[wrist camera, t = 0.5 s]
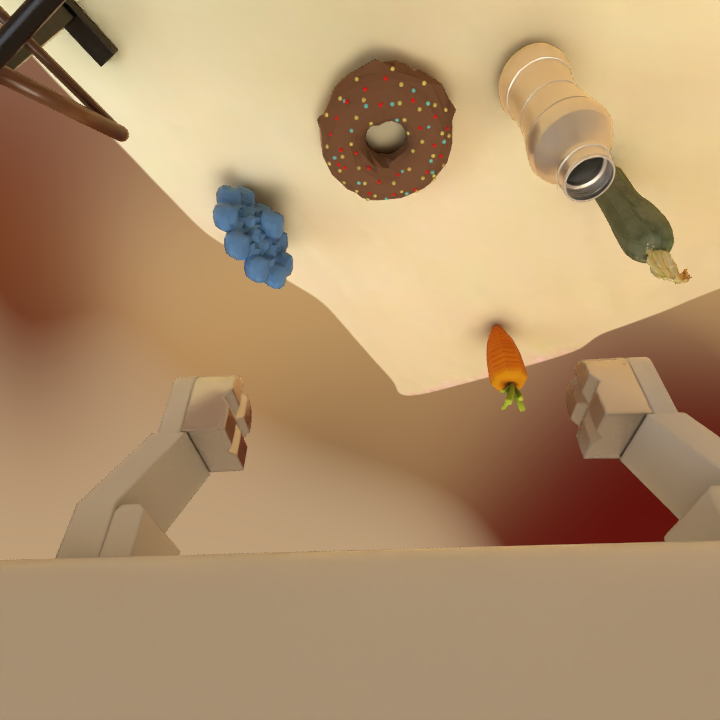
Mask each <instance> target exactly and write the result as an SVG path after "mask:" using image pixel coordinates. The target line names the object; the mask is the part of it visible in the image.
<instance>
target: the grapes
mask: <svg viewBox="0 0 720 720" xmlns="http://www.w3.org/2000/svg"><path fill="white" fill-rule="evenodd" d="M216 195H217V205H215V207H214V210H213V219H214V223H215V226H216V227H218V228H219V229H221V230H223V231H225V232H228V233H226V236H225V238H224V246H225V250H226V253H227V254H228V255H229V256H231V257H232V258H234V259H236V260H245V262H244V270H245V274H246V276H247V277H248V278H249V279H251V280H252V281H254V282H257V283H263V282H264V283H266V284H267V285H268V286H270V287H272V288H274V289H280V288H282V287H283V286H284V284H285V282H286V277H287V276H289V275H290V274H291V272H292V270H293V258H292V256H291V255H290V254H288V253H286V249H287V247H288V237H287V233H285V232H284V218H283V216H282V215H281V214H279V213H277V212H275V211H273V209H272V208H270V207H269V206H267V205H265V204H262V203H256V204H255V194H254V192H253V191H252V190H250V189H248V188H246V187H242V186H237V187H236V188H233V187H231V186H226V185H223V186H221V187H219V188H218V191H217V193H216Z"/></svg>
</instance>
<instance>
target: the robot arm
mask: <svg viewBox="0 0 720 720" xmlns="http://www.w3.org/2000/svg"><path fill="white" fill-rule="evenodd" d="M575 374H576V378H575V379H574V380H572V381H571V382H570V383H569V386H568V389H567V398H566V403H567V409H568V413H569V416H570V419H571V420H572V421H573V422H574V423H576V424H577V425H578V426H579V429H578V431H577V433H576V437H577V440H578V443H579V446H580V449H581V452H582V454H583V457H584V458H620V461H621V462H622V463H623V464H624V465H626V466H627V468H628V469H630V470H631V472H632V473H633V474H634V475H635V476H636V477H637V478H639V480H640V481H641V482H642V483H643V484H644V485H645V486H646V487H647V488H648V489H650V491H651V492H652V493H653V494H655V496H656V497H657V498H658V499H659V500H660V501H661V502H662V503H663V504H664V505H666V507H668V508H669V509H670V511H671V512H672V513H673V514H674V515H675V516H676V517H677V518H678V519H679V521H678V522H677V523H676V524H675V525H674V526H673V527H672V529H671V530H670V531H669V532H668V533H667V534H666V536H665V537H664V539H665V542H645V543H611V544H610V543H609V544H573V545H572V544H571V545H533V546H496V547H463V548H461V547H459V548H425V549H423V548H422V549H387V550H350V551H349V550H348V551H313V552H279V553H278V552H276V553H241V554H240V553H239V554H207V555H206V554H203V555H179V554H180V551H179V549H178V548H177V547H176V545H175V544H174V543H173V542H172V541H171V539H170V538H169V537H168V536H167V535H166V534H165V532H166V531H167V530H168V528H169V527H170V526H171V524H172V523H173V522H174V521H175V519H176V518H177V517H178V515H179V514H180V513H181V511H182V510H183V509H184V508H185V506H186V505H187V504H188V502H189V501H190V500H191V499H192V497H193V496H194V495H195V493H196V492H197V491H198V489H199V488H200V487H201V486H202V484H203V483H204V482H205V480H206V479H207V477H208V476H209V475H210V473H209V472H223V471H240V470H243V469H244V464H245V458H246V452H247V445H246V443H245V440H244V437H245V436H246V435H247V434H248V433H249V432H250V428H251V405H250V401H249V398H248V396H247V395H246V394H244V393H243V392H242V390H243V382H242V380H241V378H240V376H198V377H178V378H177V379H176V381H175V382H174V383H173V386H172V389H171V393H170V396H169V399H168V402H167V405H166V408H165V412H164V415H163V418H162V421H161V424H160V427H159V431H158V433H152V434H151V435H150V436H149V437H148V438H146V439H145V440H144V441H143V442H142V443H141V444H140V445H139V446H138V447H137V448H136V449H135V450H134V451H133V452H132V453H131V454H129V455H128V456H127V457H126V458H125V459H124V460H123V461H122V462H121V463H120V464H119V465H118V466H117V467H116V468H115V469H114V470H113V471H111V472H110V473H109V474H108V475H107V476H106V477H105V478H104V479H103V480H102V481H101V482H100V483H99V484H98V485H97V486H96V487H95V488H93V489H92V490H91V491H90V492H89V493H88V494H87V495H86V496H85V497H84V498H83V499H82V500H81V501H80V502H79V503H77V505H76V507H75V510H74V512H73V515H72V517H71V520H70V522H69V525H68V527H67V530H66V533H65V535H64V538H63V540H62V543H61V545H60V548H59V550H58V553H57V555H56V558H55V559H23V560H22V559H21V560H0V720H720V437H718V436H717V435H716V434H714V433H713V432H711V431H710V430H709V429H707V428H706V427H704V426H703V425H701V424H700V423H699V422H697V421H696V420H694V419H693V418H692V417H690V416H689V415H687V414H686V413H678V412H677V410H676V408H675V406H674V404H673V402H672V400H671V398H670V396H669V394H668V392H667V390H666V388H665V387H664V385H663V383H662V381H661V379H660V377H659V375H658V373H657V371H656V369H655V367H654V365H653V364H652V361H651V360H650V359H649V358H647V357H636V358H608V359H592V360H580V361H579V362H578V363H577V365H576V367H575Z"/></svg>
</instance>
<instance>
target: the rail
mask: <svg viewBox="0 0 720 720" xmlns="http://www.w3.org/2000/svg"><path fill="white" fill-rule="evenodd" d="M64 28H65V29H66V30H67V31H68V32H69V33H70V34H71V35H72V37H73V38H74V39H75V40H76V41H77V42H78V43H79V44H80V45H81V46H82V47H83V48H84V49H85V50H86V51H87V52H88V53H89V55H90V56H91V57H92V58H93V59H94V60H95V61H96V62H97V63H98V64H99V65H100V66H103V65H104V64H105V63H106V62H107V61H108V60H109V59H110V58H111V57H112V56H113V55H114V54H115V53H116V52H117V51H118V49H117V48H116V47H115V46H114V45H113V44H112V43H111V42H110V40H109V39H108V38H107V37H106V36H105V35H104V34H103V33H102V32H101V30H100V29H99V28H98V27H97V26H96V25H95V24H94V23H93V22H92V20H91V19H90V18H89V17H88V16H87V15H86V14H85V13H84V12H83V10H82V9H81V8H80V7H79V6H78V5H77V4H76V3H75V2H74V0H25V1H24V2H23V4H22V5H21V6H20V7H19V8H18V9H17V10H16V11H15V13H14V14H13V15H12V16H11V17H10V18H9V19H8V20H7V22H6V23H5V24H4V25H3V26H2V27H1V28H0V70H1V69H2V68H3V67H4V66H7V67H9V68H11V69H13V70H16V69H17V68H19V67H20V66H21V65H22V64H23V63H25V62H26V61H27V60H28V59H29V58H30V57H31V56H33V54H32V53H31V52H30V51H29V50H28V49H27V48H26V47H25V46H24V45H25V44H26V43H27V41H28V40H29V39H30V38H31V37H32V38H33V39H34V40H35V41H36V42H37V43H38V44H39V45H40V46H41V47H43V46H44V45H45V44H47V43H48V42H49V41H50V40H51V39H52V38H54V37H55V36H56V35H57V34H58V33H59V32H60V31H62V30H63V29H64Z"/></svg>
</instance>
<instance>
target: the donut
mask: <svg viewBox="0 0 720 720" xmlns="http://www.w3.org/2000/svg"><path fill="white" fill-rule="evenodd" d="M455 110H456V109H455V107H454V106H453V104H452V103H451V101H450V100H449V98H448V96H447V94H446V92H445V90H444V88H443V86H442V84H441V83H439V82H438V81H436V80H435V79H433V78H432V77H430V76H429V75H427V74H426V73H424V72H423V71H421V70H414V69H413V68H411V67H409V66H408V65H406V64H404V63H401V62H398V61H389V62H381V61H378V60H376V59H375V60H373V61H371V62H370V63H368V64H366V65H365V66H363V67H361V68H359V69H358V70H356V71H354V72H352V73H350V74H349V75H347V76H346V77H345V78H344V79H342V80H341V81H340V82H339V83H338V85H337V86H336V87H335V89H334V90H333V92H332V95H331V96H330V98H329V100H328V102H327V104H326V106H325V109H324V111H323V114H322V115H321V116H320V117H319V118H318V120H317V121H318V124H319V127H320V138H321V147H322V152H323V157H324V159H325V161H326V163H327V165H328V167H329V169H330V171H331V173H332V175H333V176H334V177H335V178H336V179H337V180H338V181H340V182H341V183H342V184H343V185H344V186H345V187H346V188H347V189H348V190H351V191H353V192H355V193H357V194H358V195H360V196H361V197H362V198H365V199H366V200H367V201H369V200H388V199H395V198H402V197H405V196H407V195H409V194H412V193H414V192H416V193H417V192H418V191H419V190H421V189H423V188H425V187H426V186H427V185H429V184H430V183H431V182H432V180H433V181H435V180H436V178H435V177H436V176H437V175H438V173H439V172H440V171H441V169H442V168H443V167H444V166H445V164H446V163H447V161H448V157H449V154H450V150H451V145H452V119H453V116H454V113H455ZM386 121H393V122H397V123H400V124H401V125H402V126H403V127H404V129H405V131H406V133H407V138H406V140H405V142H404V144H403V146H402V147H401V148H400V149H398V150H397V151H396V152H394V153H390V154H383V153H376V152H375V151H373V150H372V149H370V148H369V147H368V145H367V143H366V141H365V137H366V133H367V130H368V129H369V128H370V127H371V126H373V125H380V124H382V123H384V122H386Z"/></svg>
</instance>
